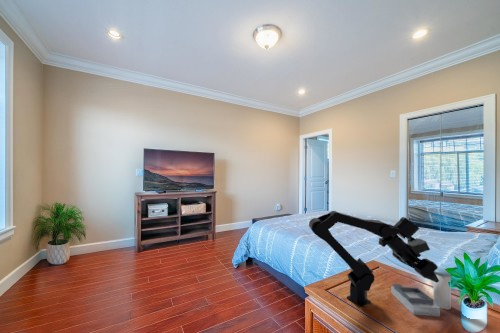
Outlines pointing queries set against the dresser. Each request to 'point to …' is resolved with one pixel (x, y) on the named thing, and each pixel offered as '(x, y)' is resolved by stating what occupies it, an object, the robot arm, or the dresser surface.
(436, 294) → the lidded container
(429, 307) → the digital kitchen scale
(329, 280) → the dresser surface
